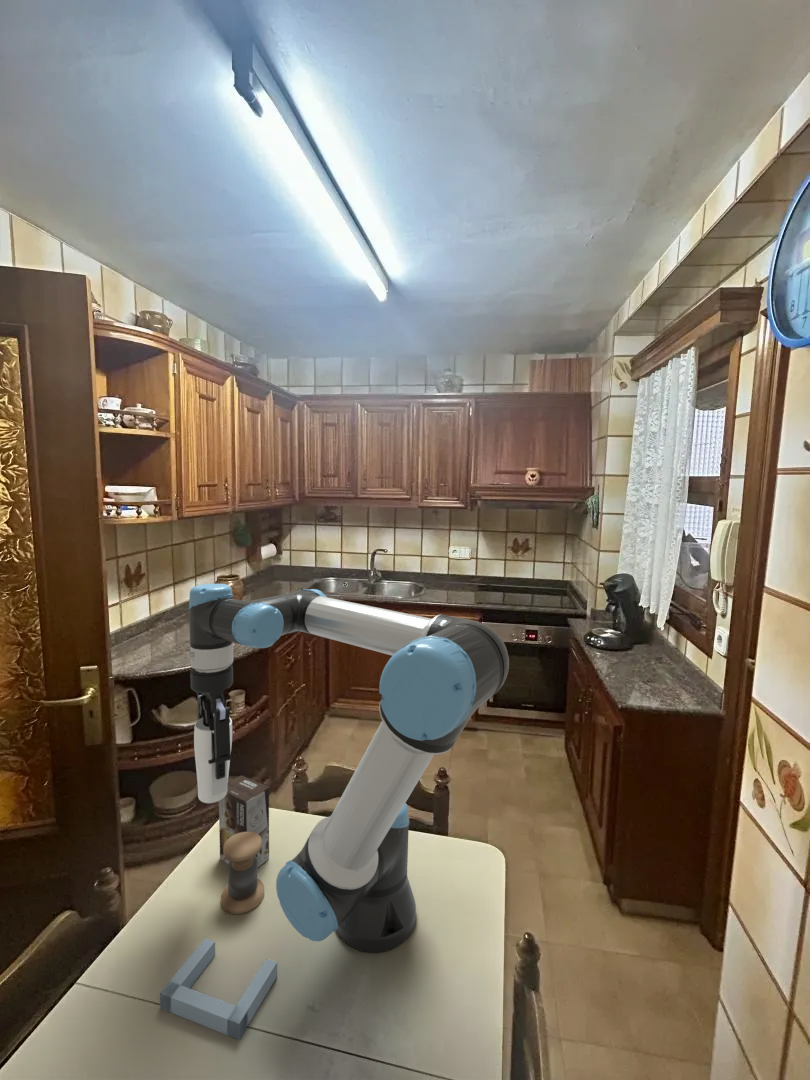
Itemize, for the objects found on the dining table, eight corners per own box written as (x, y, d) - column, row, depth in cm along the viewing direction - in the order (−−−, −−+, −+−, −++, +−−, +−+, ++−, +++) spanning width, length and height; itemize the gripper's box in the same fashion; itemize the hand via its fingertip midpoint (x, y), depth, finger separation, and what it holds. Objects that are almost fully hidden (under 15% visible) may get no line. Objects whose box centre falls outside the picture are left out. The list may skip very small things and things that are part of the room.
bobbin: (272, 887, 99) (272, 835, 98) (248, 919, 91) (248, 862, 90) (238, 877, 101) (237, 826, 100) (211, 907, 94) (211, 852, 93)
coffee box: (270, 858, 107) (270, 786, 106) (246, 877, 101) (246, 801, 100) (242, 842, 112) (242, 773, 111) (218, 859, 106) (217, 787, 105)
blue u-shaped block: (277, 976, 80) (277, 962, 80) (239, 1039, 71) (239, 1023, 71) (205, 951, 85) (205, 938, 84) (160, 1008, 75) (160, 993, 75)
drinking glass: (215, 811, 91) (216, 734, 90) (185, 802, 93) (185, 726, 92) (238, 790, 98) (239, 718, 96) (210, 781, 100) (210, 711, 98)
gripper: (179, 656, 99) (181, 767, 101) (204, 685, 83) (206, 816, 85) (217, 650, 103) (219, 757, 105) (248, 677, 88) (250, 801, 89)
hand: (213, 783), depth 95 cm, fingers closed on drinking glass, 6 cm apart
